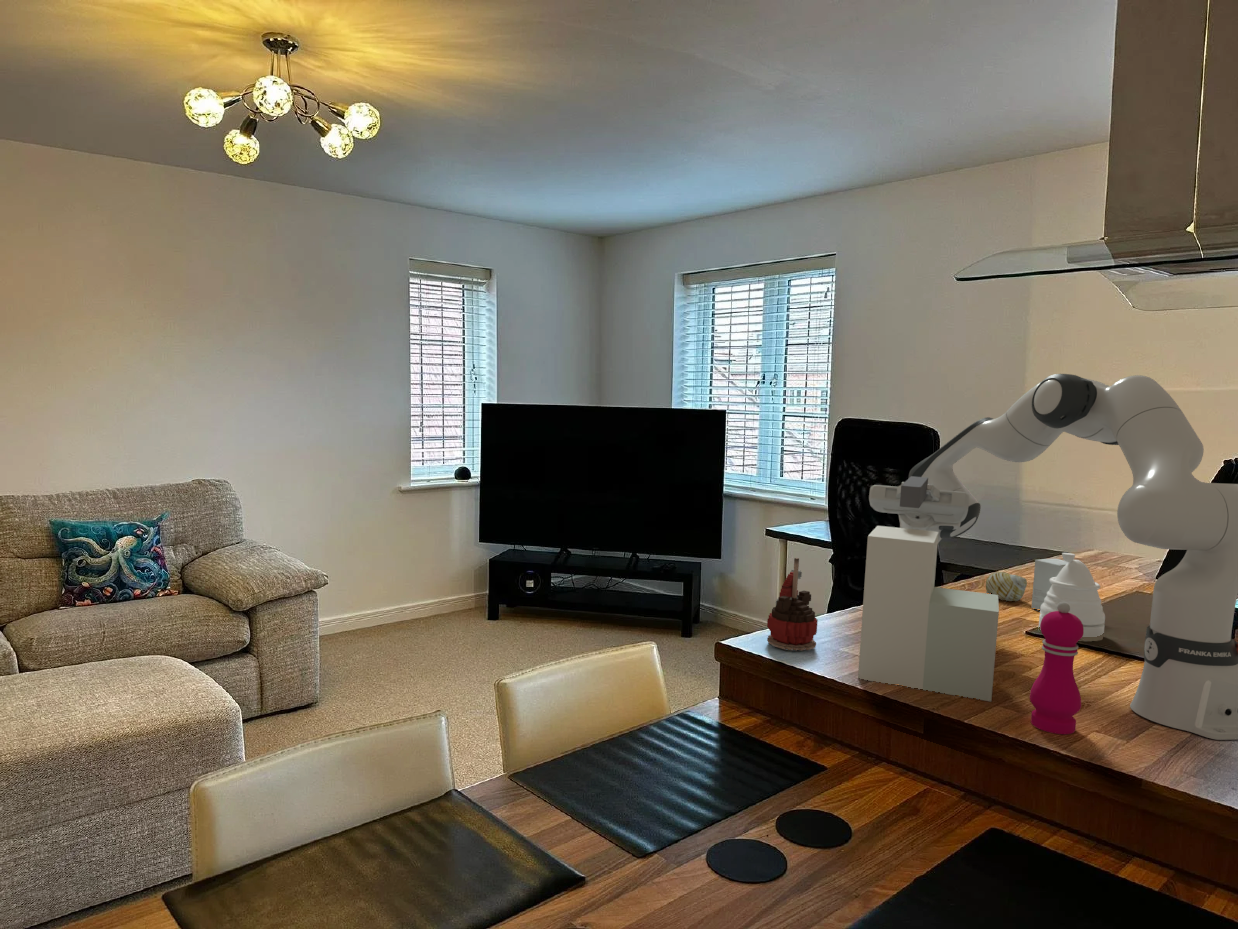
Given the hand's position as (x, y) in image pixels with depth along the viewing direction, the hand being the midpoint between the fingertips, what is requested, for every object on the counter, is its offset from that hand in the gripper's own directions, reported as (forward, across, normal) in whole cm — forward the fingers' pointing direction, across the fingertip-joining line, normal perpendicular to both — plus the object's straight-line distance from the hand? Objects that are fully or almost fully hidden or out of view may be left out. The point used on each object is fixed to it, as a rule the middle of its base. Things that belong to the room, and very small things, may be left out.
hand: (917, 486), depth 176 cm
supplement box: (-56, +31, +6) cm, 64 cm away
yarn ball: (-63, +20, +2) cm, 66 cm away
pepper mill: (+18, +25, +48) cm, 57 cm away
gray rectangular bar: (+4, 0, +5) cm, 7 cm away
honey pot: (-38, +33, +16) cm, 53 cm away
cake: (0, -20, +38) cm, 43 cm away
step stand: (+6, +5, +41) cm, 41 cm away
